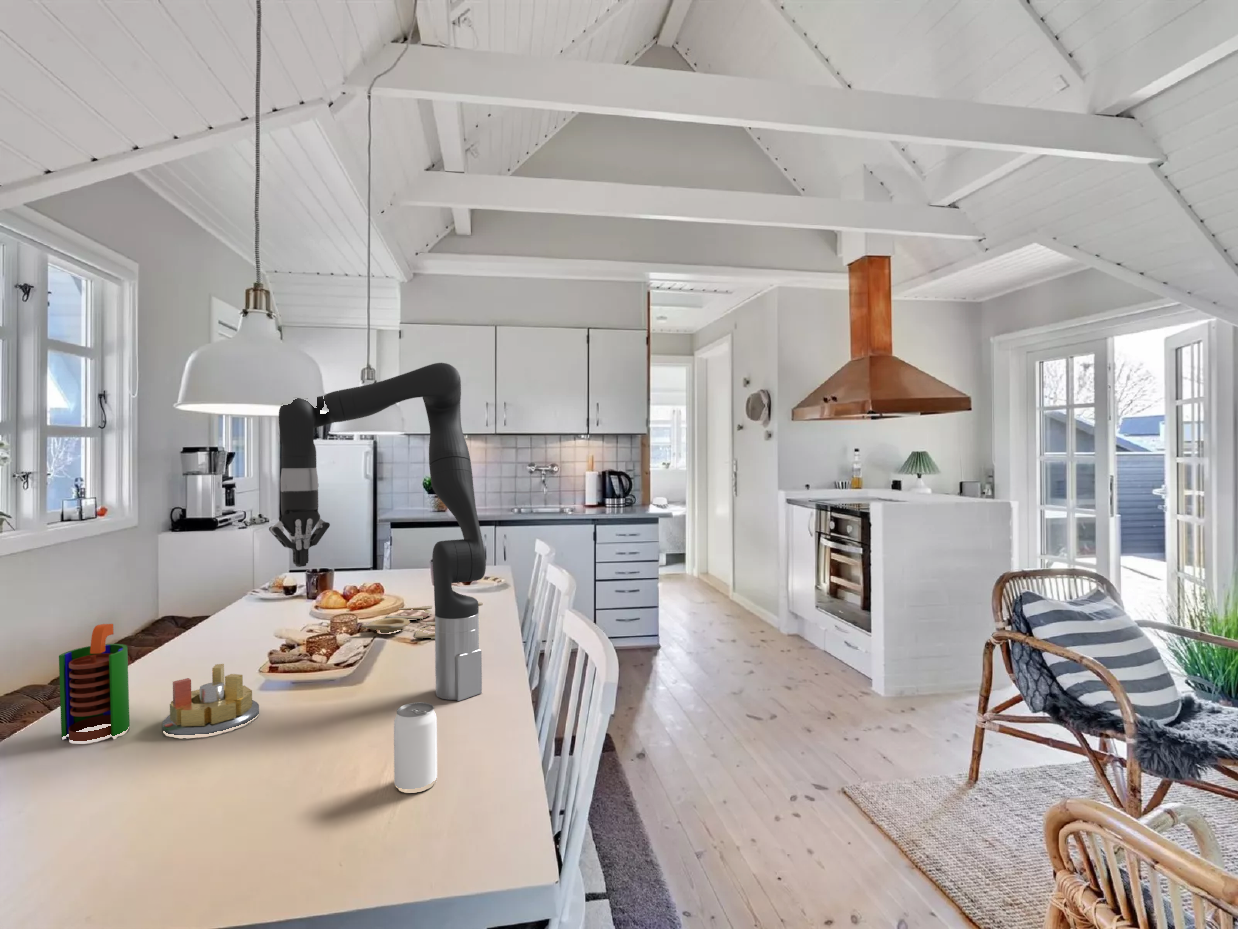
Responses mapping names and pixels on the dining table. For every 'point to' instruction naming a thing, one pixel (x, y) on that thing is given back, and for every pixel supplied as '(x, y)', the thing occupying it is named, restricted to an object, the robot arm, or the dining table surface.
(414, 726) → the can
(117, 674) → the motor
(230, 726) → the rotating turntable
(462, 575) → the robot arm
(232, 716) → the wooden blocks on tray
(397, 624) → the tableware set
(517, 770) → the dining table surface
